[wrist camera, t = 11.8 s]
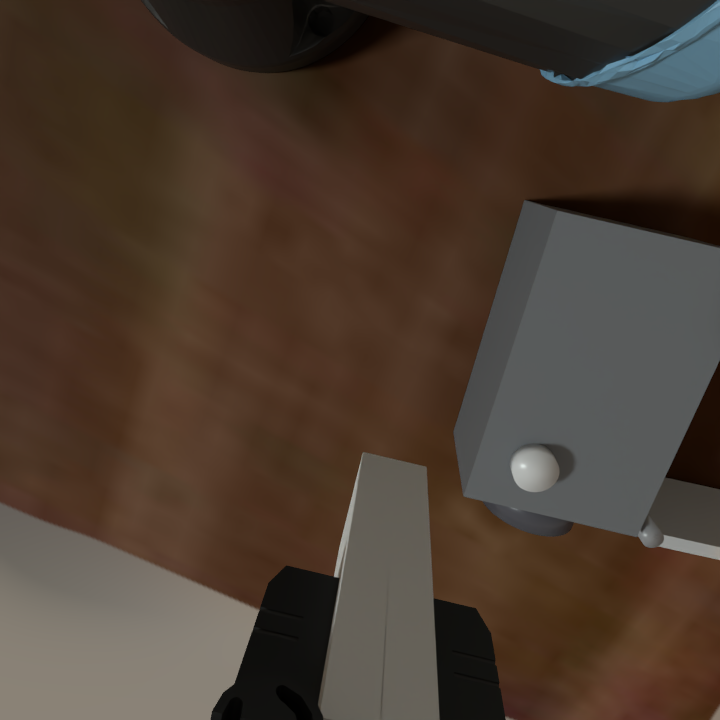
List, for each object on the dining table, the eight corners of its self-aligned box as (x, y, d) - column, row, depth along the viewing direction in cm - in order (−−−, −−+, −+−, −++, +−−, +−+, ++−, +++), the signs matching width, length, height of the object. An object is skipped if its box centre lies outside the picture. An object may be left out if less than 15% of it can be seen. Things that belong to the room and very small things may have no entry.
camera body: (524, 199, 34) (562, 212, 25) (687, 237, 34) (780, 262, 25) (445, 456, 40) (455, 536, 31) (583, 489, 40) (630, 577, 31)
